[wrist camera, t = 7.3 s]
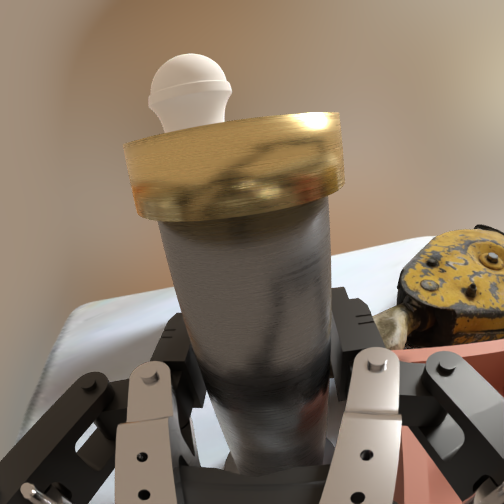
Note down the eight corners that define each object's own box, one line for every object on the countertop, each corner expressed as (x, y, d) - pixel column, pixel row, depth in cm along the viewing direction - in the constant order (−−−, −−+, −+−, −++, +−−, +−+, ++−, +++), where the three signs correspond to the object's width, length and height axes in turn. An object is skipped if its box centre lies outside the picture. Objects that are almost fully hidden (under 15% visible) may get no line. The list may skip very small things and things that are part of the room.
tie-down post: (340, 438, 15) (348, 114, 8) (330, 525, 10) (379, 108, 3) (244, 432, 16) (176, 134, 10) (217, 512, 11) (49, 166, 5)
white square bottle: (275, 334, 24) (236, 36, 16) (196, 351, 24) (132, 53, 15) (257, 295, 30) (223, 59, 22) (192, 309, 29) (145, 72, 21)
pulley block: (250, 261, 22) (488, 203, 29) (256, 319, 26) (478, 244, 32) (345, 433, 11) (576, 261, 17) (329, 470, 14) (555, 306, 20)
